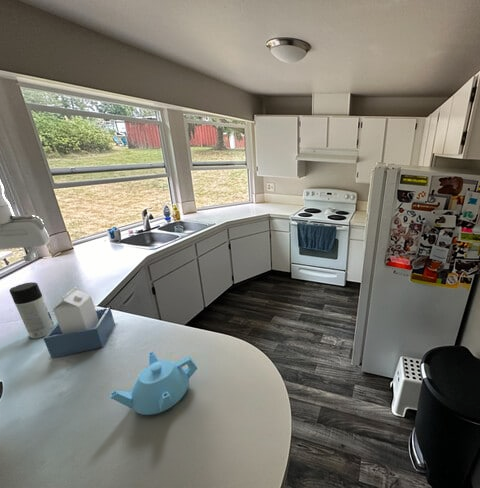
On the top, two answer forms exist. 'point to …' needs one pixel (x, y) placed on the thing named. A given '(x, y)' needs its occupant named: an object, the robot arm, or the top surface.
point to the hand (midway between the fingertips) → (8, 262)
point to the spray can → (32, 309)
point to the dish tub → (80, 336)
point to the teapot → (157, 386)
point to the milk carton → (76, 312)
